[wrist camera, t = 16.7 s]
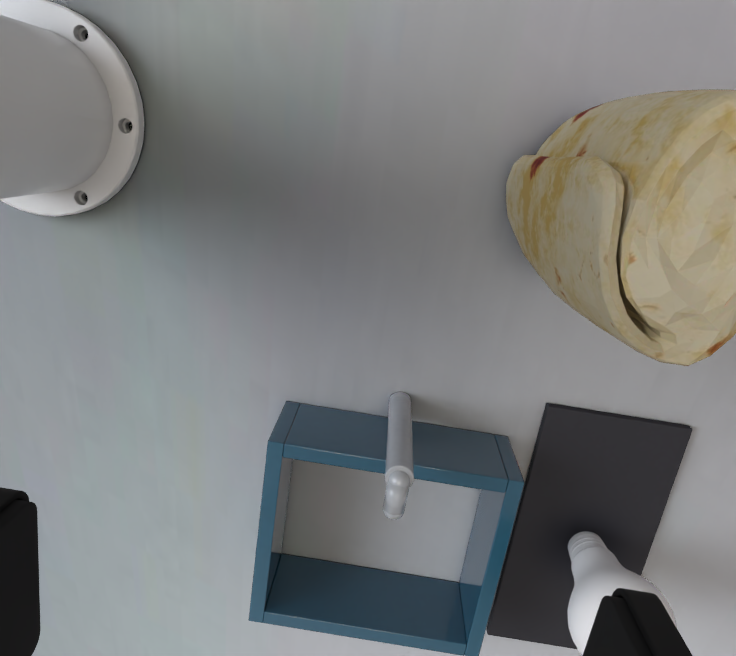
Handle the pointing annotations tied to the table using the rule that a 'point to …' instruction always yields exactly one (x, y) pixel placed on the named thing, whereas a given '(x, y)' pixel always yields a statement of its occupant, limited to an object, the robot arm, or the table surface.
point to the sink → (401, 466)
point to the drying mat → (582, 511)
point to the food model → (638, 219)
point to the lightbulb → (598, 584)
